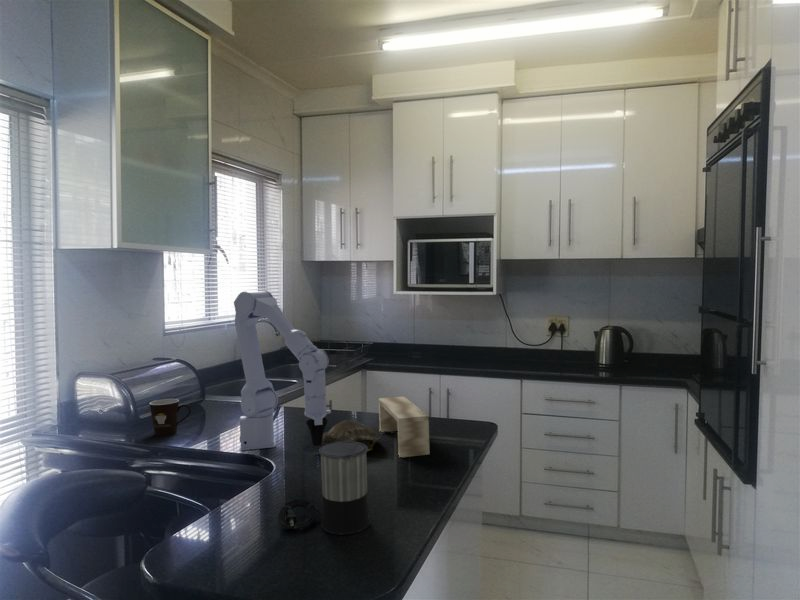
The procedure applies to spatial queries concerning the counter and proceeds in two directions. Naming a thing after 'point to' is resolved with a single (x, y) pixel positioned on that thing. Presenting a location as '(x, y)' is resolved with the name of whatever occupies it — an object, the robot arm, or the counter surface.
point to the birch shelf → (405, 425)
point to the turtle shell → (351, 434)
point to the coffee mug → (166, 416)
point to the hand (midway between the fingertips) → (317, 445)
